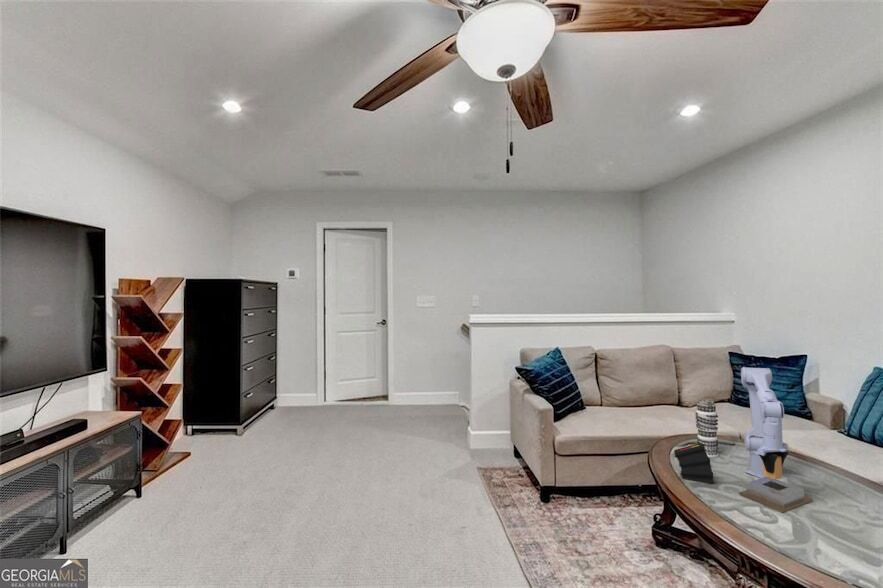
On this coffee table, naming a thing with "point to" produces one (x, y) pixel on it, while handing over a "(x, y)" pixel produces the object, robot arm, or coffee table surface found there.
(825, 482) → the coffee table surface
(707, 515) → the coffee table surface
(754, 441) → the robot arm
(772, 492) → the socket
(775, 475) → the orange rectangular block
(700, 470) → the black ridged slab
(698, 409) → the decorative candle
